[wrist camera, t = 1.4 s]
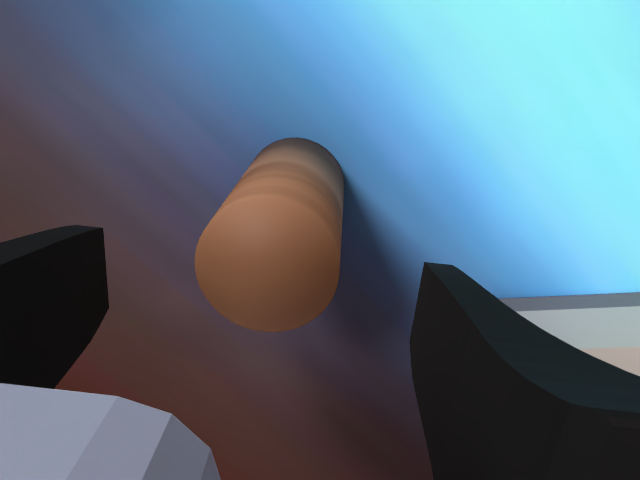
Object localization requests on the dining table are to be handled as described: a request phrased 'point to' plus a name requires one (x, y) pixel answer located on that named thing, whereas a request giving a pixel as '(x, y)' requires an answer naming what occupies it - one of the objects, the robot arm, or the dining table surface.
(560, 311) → the hole block
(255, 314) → the peg
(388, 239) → the dining table surface
